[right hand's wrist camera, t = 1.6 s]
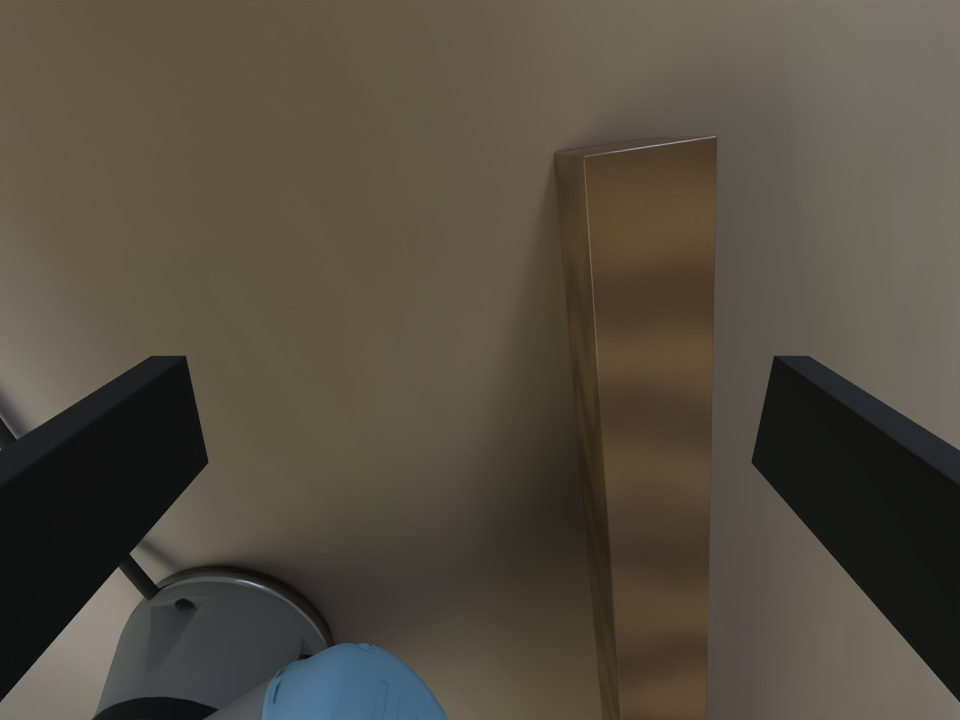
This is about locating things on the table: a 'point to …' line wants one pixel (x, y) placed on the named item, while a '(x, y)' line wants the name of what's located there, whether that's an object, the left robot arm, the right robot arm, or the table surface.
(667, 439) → the bar
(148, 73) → the table surface
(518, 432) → the table surface
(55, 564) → the right robot arm
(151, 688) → the left robot arm
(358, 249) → the table surface
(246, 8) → the table surface
